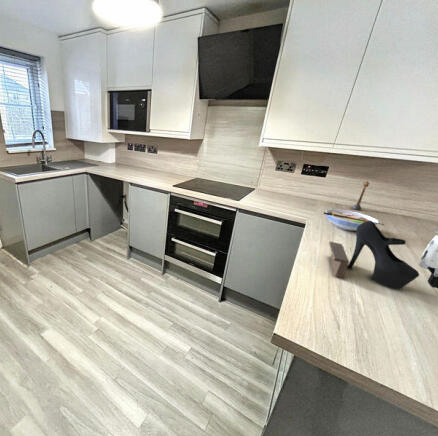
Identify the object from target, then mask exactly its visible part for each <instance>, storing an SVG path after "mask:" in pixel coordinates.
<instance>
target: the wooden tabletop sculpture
mask: <svg viewBox="0 0 438 436" xmlns="http://www.w3.org/2000/svg"><path fill="white" fill-rule="evenodd" d="M362 185H363V188H362V190H361V193H360V194H359V198H358V200H357V201H356V203H355V204H354V205H352V207H351V210H354V211H361V210H362V206H361V203H362V200H363V198H364V197H363V196H364V194H365V192H366V189H367V187H369V185H370V182H369V181H367V180H366V181H364V182H363V184H362Z"/></svg>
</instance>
